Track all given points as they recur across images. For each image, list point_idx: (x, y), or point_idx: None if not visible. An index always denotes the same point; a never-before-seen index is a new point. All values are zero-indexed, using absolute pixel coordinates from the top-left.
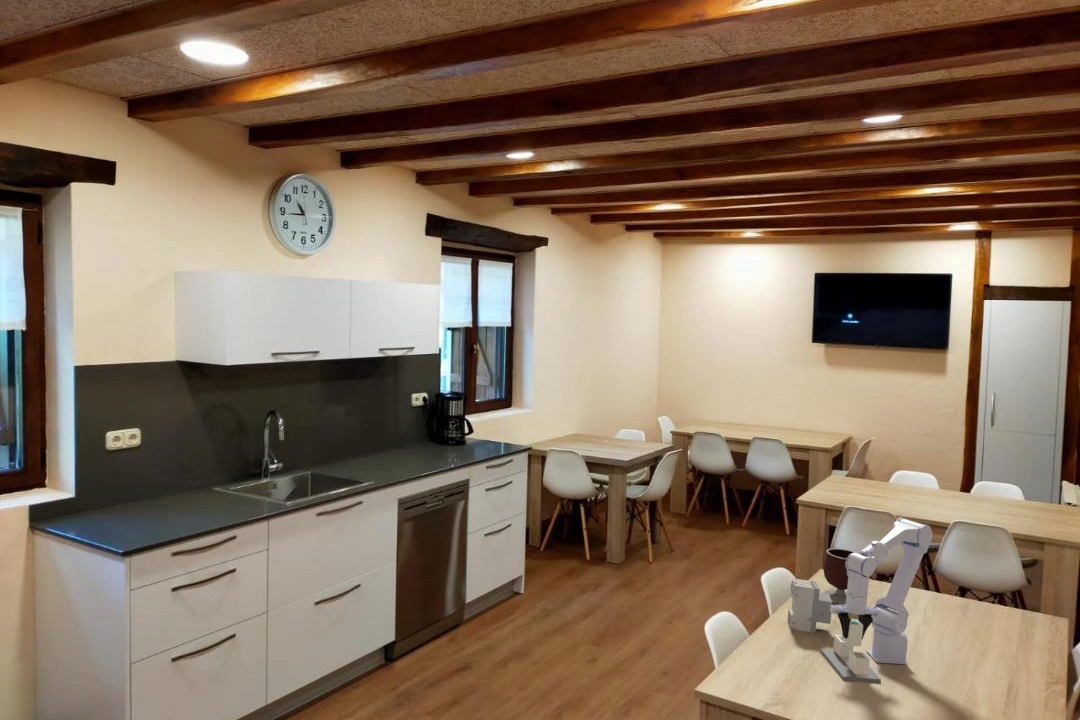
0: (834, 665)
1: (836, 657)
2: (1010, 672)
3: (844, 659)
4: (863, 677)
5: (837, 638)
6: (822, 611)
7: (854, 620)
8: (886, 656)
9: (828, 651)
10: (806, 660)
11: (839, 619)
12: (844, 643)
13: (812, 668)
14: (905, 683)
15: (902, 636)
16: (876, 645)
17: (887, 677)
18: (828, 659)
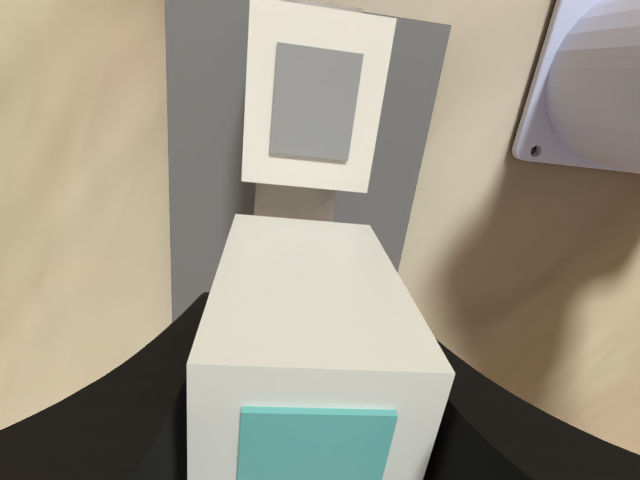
0: (172, 255)
1: (237, 138)
2: None
3: (266, 204)
4: None
5: (245, 92)
6: None
7: (353, 448)
8: (599, 161)
9: (216, 28)
10: (11, 138)
11: (67, 399)
12: (278, 182)
13: (30, 249)
14: (492, 364)
15: None
16: (608, 110)
17: (444, 318)
18: (170, 155)
